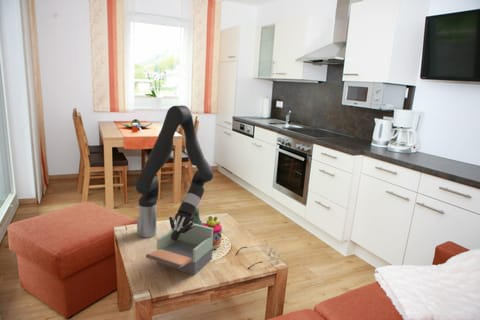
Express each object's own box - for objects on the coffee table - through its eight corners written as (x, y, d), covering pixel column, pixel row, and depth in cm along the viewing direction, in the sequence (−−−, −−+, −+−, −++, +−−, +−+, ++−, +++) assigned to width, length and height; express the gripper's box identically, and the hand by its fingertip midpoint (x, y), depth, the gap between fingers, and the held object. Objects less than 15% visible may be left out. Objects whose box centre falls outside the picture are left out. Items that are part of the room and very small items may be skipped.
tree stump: (202, 221, 208) (206, 197, 200) (208, 243, 191) (214, 217, 184) (171, 222, 202) (175, 197, 194) (176, 245, 185) (180, 218, 177)
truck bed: (176, 248, 171) (177, 219, 168) (211, 259, 164) (213, 228, 160) (157, 263, 157) (157, 231, 154) (194, 275, 149) (195, 241, 146)
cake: (223, 249, 175) (225, 221, 171) (204, 251, 171) (205, 223, 167) (217, 240, 184) (218, 214, 181) (198, 242, 180) (199, 215, 177)
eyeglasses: (282, 263, 165) (283, 254, 164) (248, 270, 157) (249, 261, 155) (265, 248, 179) (266, 240, 178) (233, 254, 170) (234, 245, 169)
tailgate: (160, 248, 155) (146, 254, 146) (192, 258, 149) (179, 264, 139) (159, 251, 155) (145, 257, 146) (192, 261, 149) (179, 268, 139)
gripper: (174, 198, 156) (157, 232, 148) (199, 204, 151) (182, 240, 143) (180, 205, 162) (164, 239, 154) (204, 212, 157) (189, 247, 149)
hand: (173, 239), depth 149 cm, fingers closed
